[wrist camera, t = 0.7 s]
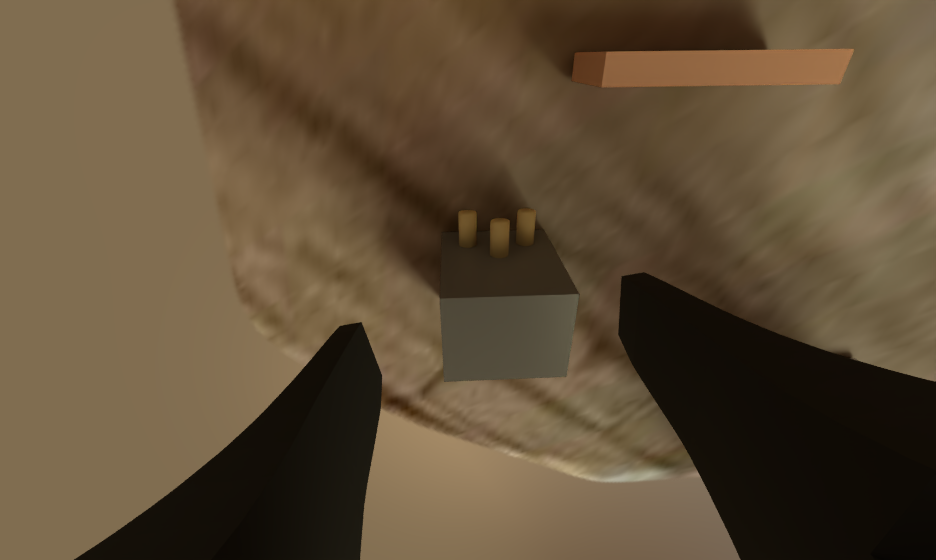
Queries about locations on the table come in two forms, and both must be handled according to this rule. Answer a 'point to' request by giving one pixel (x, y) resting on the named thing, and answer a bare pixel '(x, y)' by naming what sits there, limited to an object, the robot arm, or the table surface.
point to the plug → (504, 302)
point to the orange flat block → (710, 67)
